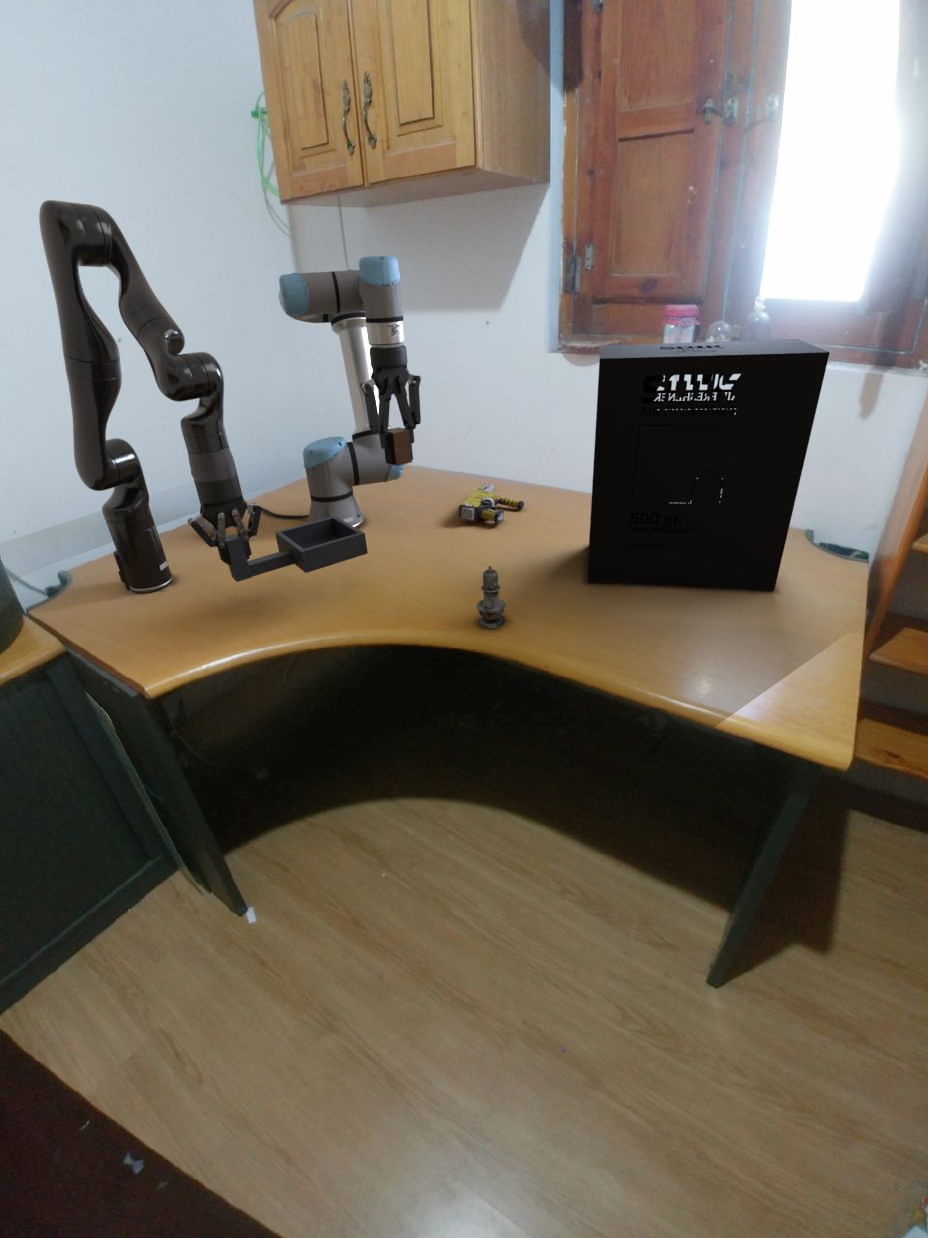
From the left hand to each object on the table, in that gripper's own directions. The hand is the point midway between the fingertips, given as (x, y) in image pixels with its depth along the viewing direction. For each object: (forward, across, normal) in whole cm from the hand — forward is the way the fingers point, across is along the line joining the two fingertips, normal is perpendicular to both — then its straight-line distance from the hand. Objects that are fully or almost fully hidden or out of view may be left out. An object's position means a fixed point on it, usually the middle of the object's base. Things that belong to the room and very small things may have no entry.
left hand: (237, 560), depth 117 cm
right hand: (-11, +39, +2) cm, 41 cm away
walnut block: (-11, +39, +2) cm, 41 cm away
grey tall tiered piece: (+13, +36, -33) cm, 51 cm away
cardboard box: (+13, +82, -41) cm, 93 cm away
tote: (+4, +11, 0) cm, 12 cm away
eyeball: (+14, +9, +55) cm, 57 cm away
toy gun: (+14, +77, +15) cm, 79 cm away
